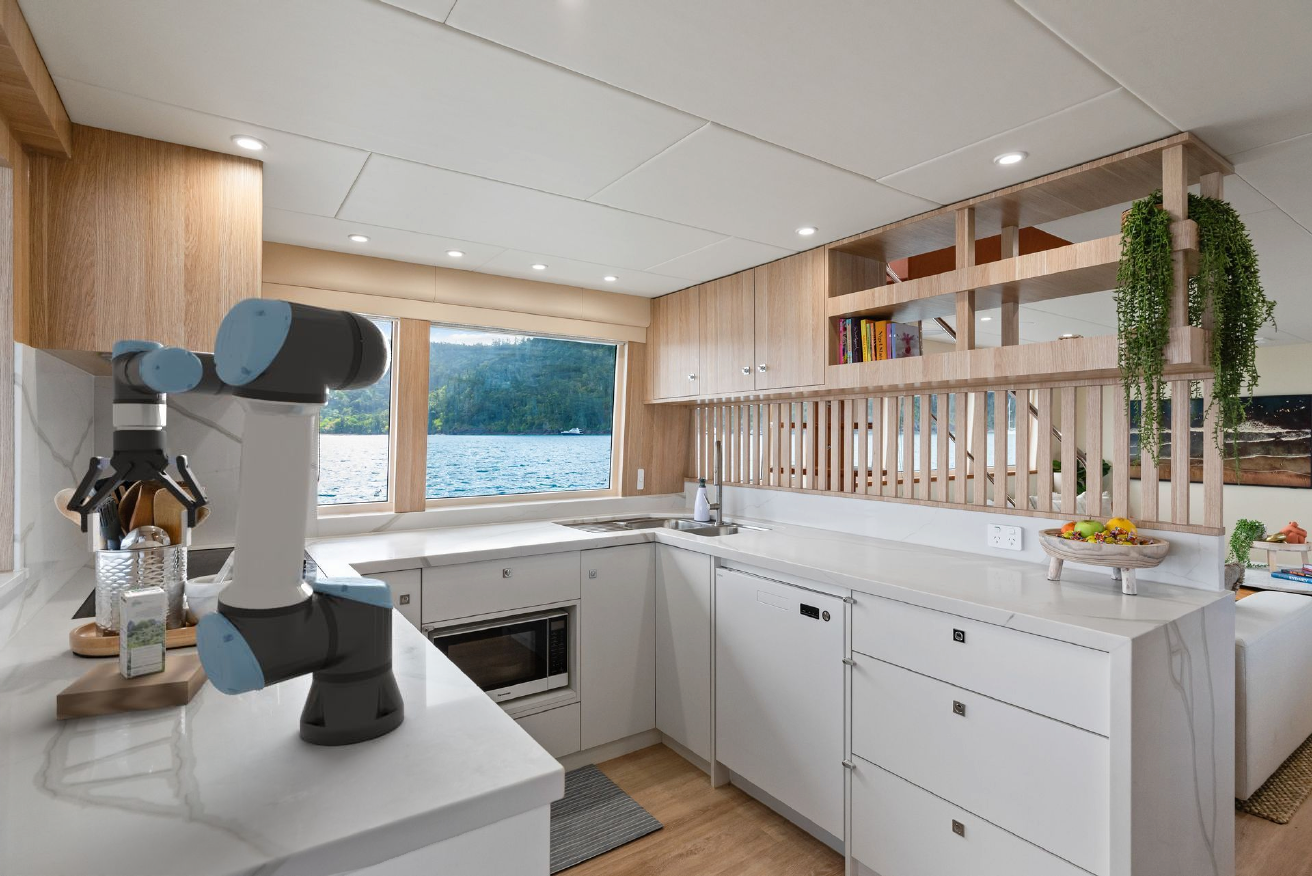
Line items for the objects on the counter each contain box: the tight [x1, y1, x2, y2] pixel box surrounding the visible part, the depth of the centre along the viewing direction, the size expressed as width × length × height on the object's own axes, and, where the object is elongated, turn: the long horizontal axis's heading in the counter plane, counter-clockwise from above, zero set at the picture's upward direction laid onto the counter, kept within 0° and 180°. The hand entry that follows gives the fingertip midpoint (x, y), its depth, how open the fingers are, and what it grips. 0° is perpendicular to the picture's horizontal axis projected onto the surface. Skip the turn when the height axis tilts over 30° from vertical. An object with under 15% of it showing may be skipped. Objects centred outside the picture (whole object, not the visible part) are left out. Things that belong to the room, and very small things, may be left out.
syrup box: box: [118, 586, 167, 679], centre depth 119 cm, size 6×6×14 cm
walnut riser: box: [56, 653, 209, 721], centre depth 119 cm, size 18×16×4 cm
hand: (141, 548), depth 119 cm, fingers open, 13 cm apart
